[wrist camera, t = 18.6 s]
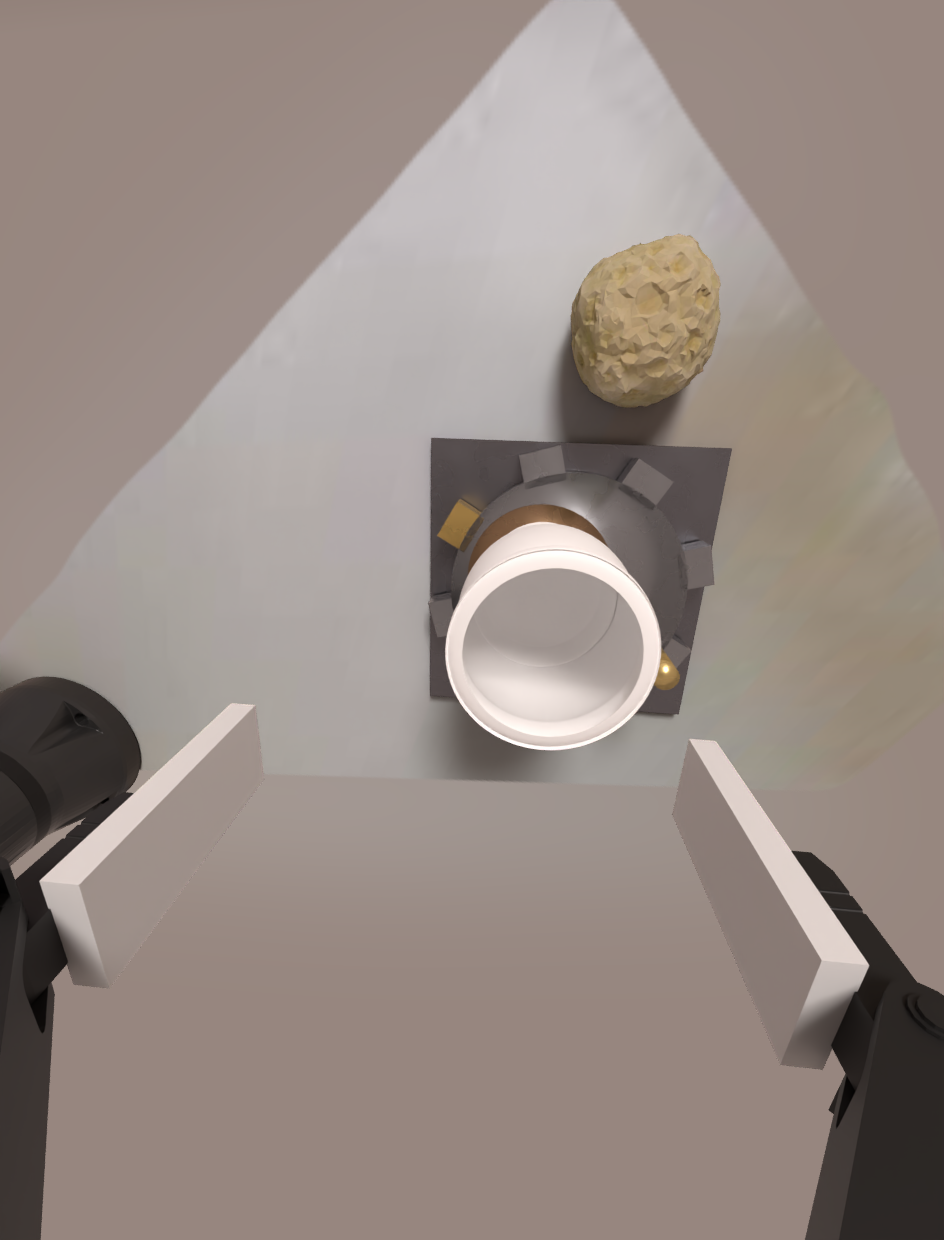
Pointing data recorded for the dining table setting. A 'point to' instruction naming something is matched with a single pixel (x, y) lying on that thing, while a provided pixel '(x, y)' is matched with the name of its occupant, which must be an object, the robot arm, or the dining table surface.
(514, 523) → the sprocket
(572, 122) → the dining table surface
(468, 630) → the jar
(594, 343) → the decorative object
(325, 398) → the dining table surface
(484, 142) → the dining table surface
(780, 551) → the dining table surface
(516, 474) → the base plate
